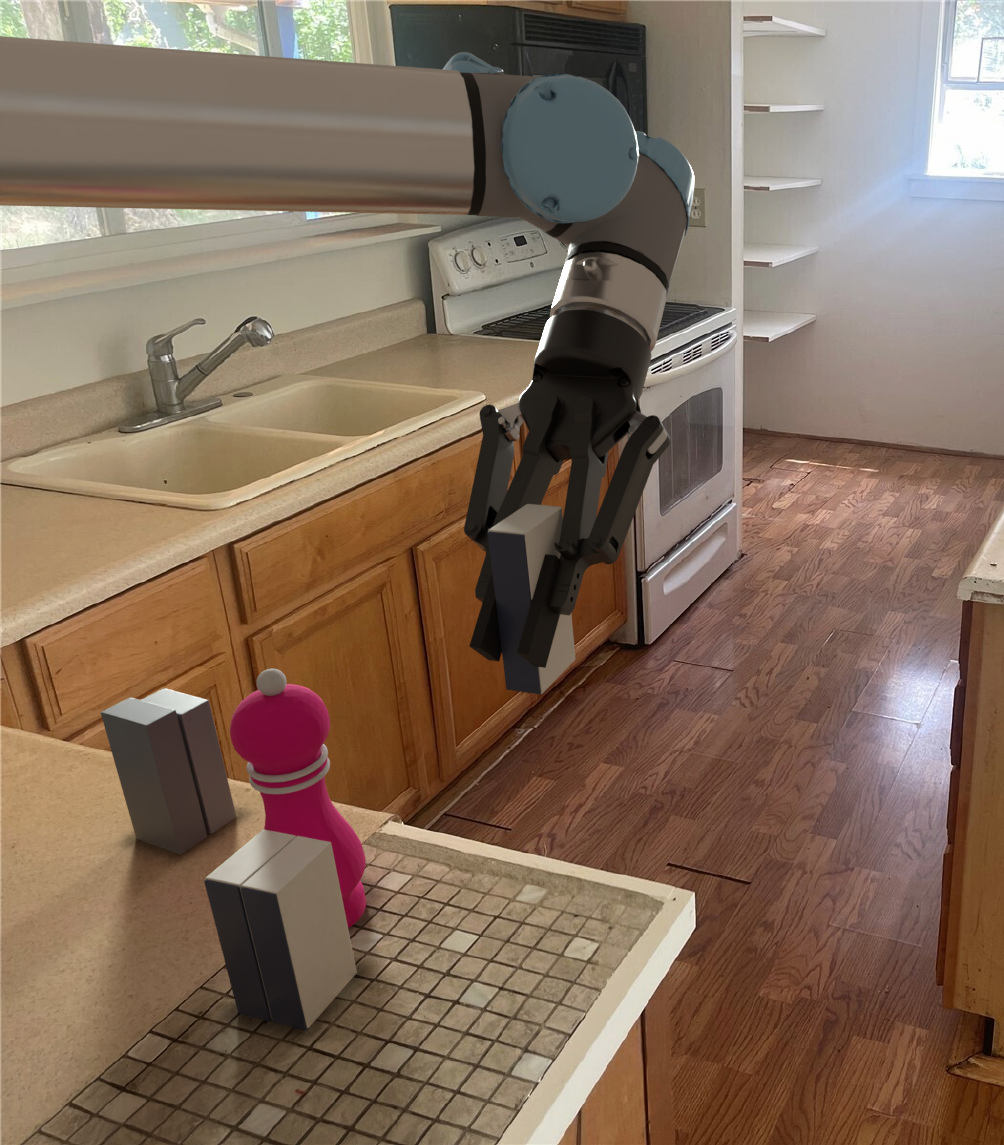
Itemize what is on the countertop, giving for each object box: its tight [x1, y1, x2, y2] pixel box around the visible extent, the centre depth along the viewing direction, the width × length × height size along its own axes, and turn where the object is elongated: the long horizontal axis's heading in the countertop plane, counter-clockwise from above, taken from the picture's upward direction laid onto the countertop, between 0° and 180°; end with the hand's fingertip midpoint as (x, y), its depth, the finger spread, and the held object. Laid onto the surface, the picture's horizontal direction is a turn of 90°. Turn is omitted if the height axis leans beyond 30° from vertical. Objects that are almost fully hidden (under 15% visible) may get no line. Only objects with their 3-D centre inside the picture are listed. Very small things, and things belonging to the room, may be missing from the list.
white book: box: [488, 504, 576, 695], centre depth 69 cm, size 2×5×11 cm, turn 164°
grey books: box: [100, 687, 237, 855], centre depth 84 cm, size 5×5×12 cm
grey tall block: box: [203, 828, 358, 1031], centre depth 67 cm, size 5×5×11 cm
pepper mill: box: [229, 668, 367, 929], centre depth 73 cm, size 7×7×20 cm
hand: (507, 656), depth 66 cm, fingers closed on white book, 2 cm apart
